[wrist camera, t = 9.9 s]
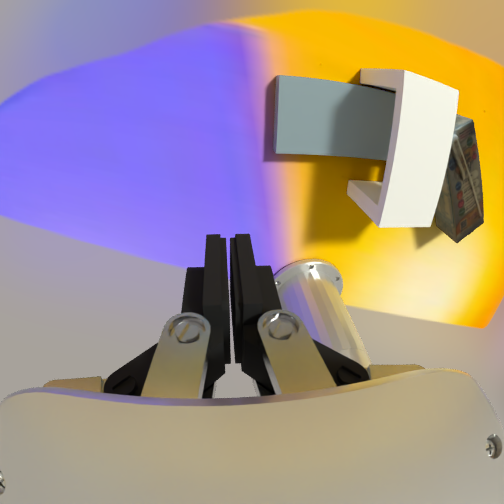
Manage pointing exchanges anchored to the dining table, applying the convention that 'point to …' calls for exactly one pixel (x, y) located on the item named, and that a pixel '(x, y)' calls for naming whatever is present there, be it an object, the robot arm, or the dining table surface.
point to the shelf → (410, 150)
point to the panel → (331, 118)
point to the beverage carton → (461, 185)
